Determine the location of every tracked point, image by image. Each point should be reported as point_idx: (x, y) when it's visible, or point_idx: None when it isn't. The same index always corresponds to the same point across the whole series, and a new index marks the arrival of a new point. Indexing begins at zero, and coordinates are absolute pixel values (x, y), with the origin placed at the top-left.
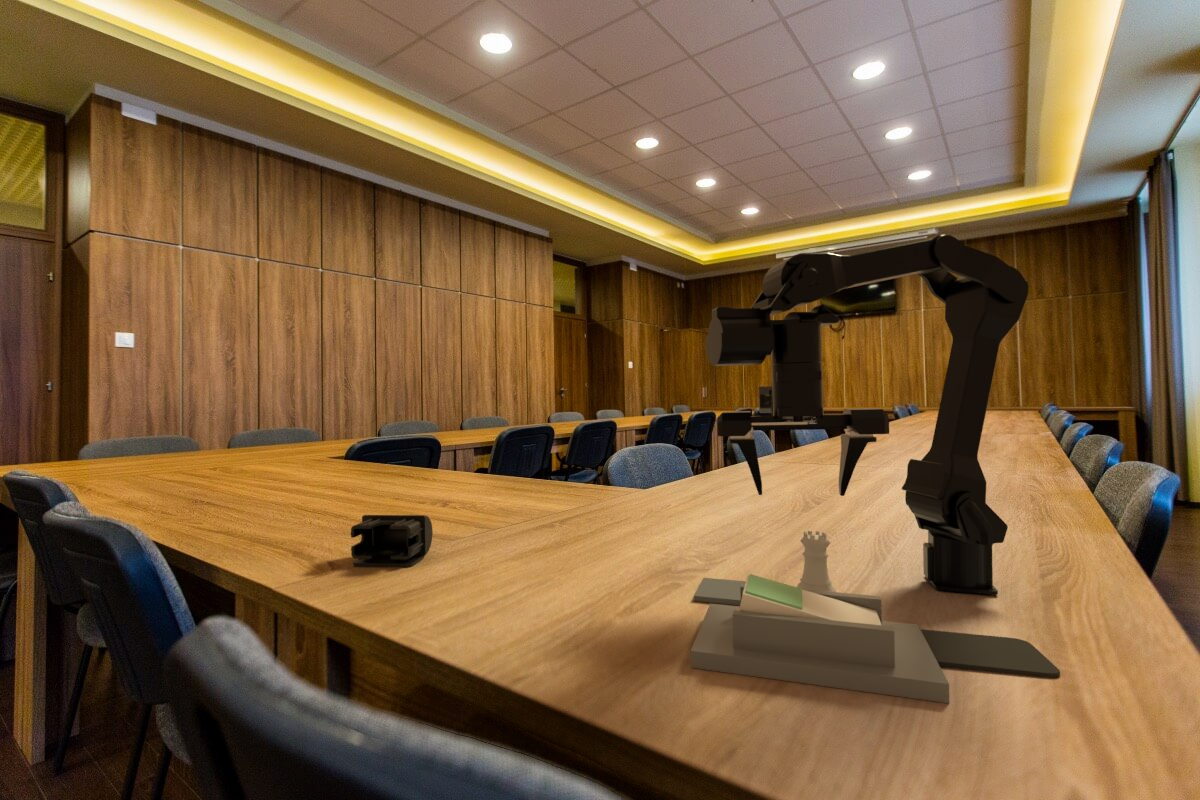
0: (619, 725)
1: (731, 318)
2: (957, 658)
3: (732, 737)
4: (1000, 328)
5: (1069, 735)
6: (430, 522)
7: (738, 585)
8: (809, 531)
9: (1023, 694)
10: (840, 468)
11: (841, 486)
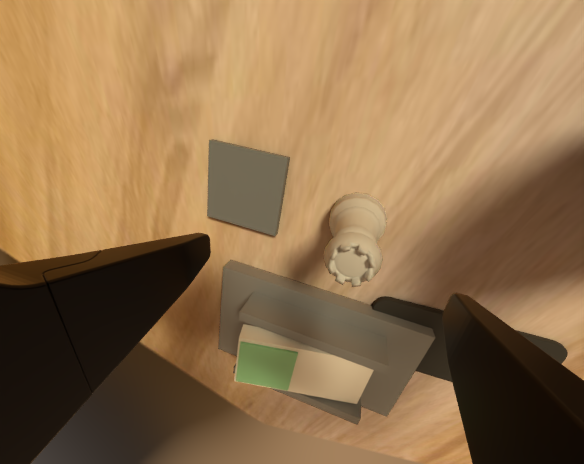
0: (200, 379)
1: None
2: (438, 370)
3: (250, 397)
4: None
5: (442, 438)
6: None
7: (257, 174)
8: (343, 250)
9: (455, 406)
10: (504, 384)
11: (447, 353)
